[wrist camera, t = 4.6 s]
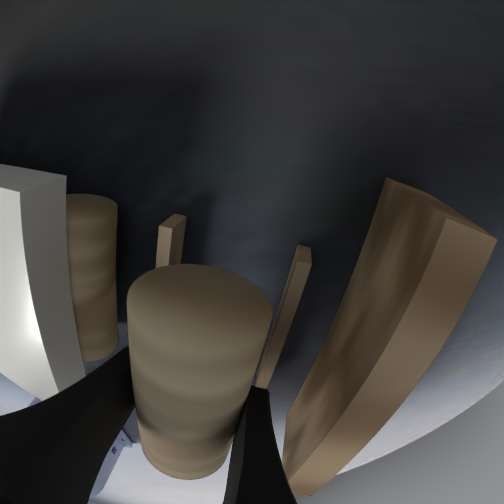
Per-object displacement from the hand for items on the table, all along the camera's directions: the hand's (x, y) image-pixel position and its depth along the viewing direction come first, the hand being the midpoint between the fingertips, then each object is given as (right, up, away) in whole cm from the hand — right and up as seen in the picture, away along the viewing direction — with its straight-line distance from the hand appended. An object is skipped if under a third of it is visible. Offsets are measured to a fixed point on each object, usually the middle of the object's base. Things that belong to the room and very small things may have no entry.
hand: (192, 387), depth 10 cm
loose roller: (0, +1, +1) cm, 2 cm away
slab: (-13, +4, +2) cm, 14 cm away
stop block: (+7, +1, +5) cm, 9 cm away
